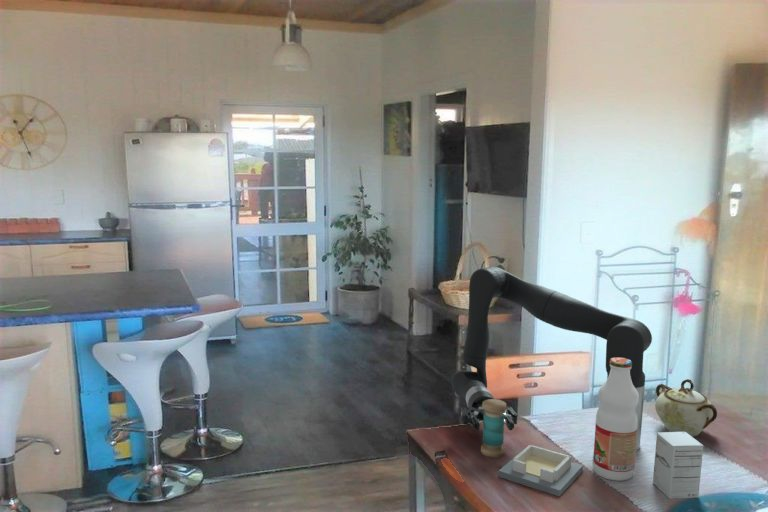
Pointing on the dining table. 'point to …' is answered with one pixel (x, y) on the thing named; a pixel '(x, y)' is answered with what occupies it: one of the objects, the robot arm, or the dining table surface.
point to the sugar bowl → (684, 409)
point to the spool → (493, 428)
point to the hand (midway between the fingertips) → (494, 427)
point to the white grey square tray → (542, 470)
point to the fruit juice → (616, 424)
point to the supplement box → (677, 464)
